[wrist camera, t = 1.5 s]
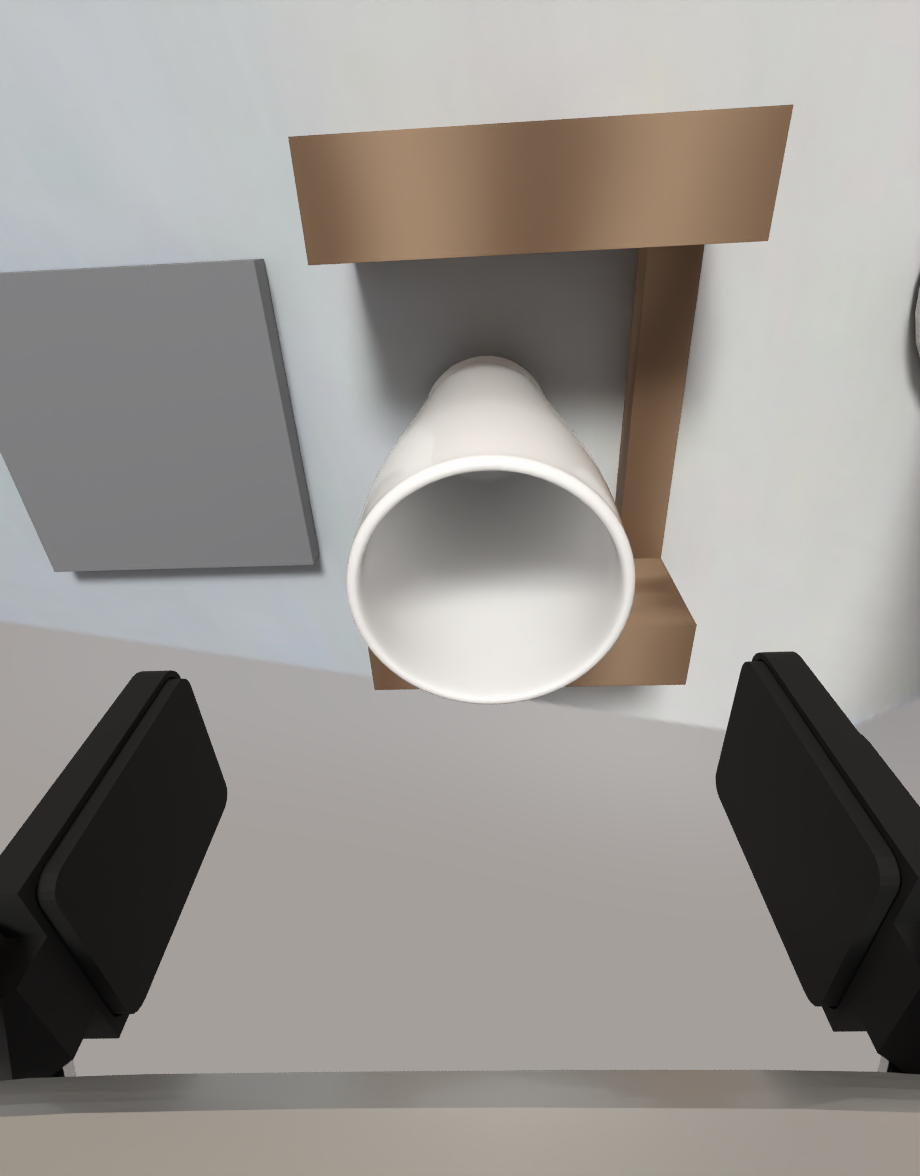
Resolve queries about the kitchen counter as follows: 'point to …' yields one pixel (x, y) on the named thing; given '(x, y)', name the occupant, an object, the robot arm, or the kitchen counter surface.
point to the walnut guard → (559, 224)
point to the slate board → (152, 417)
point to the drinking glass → (489, 545)
